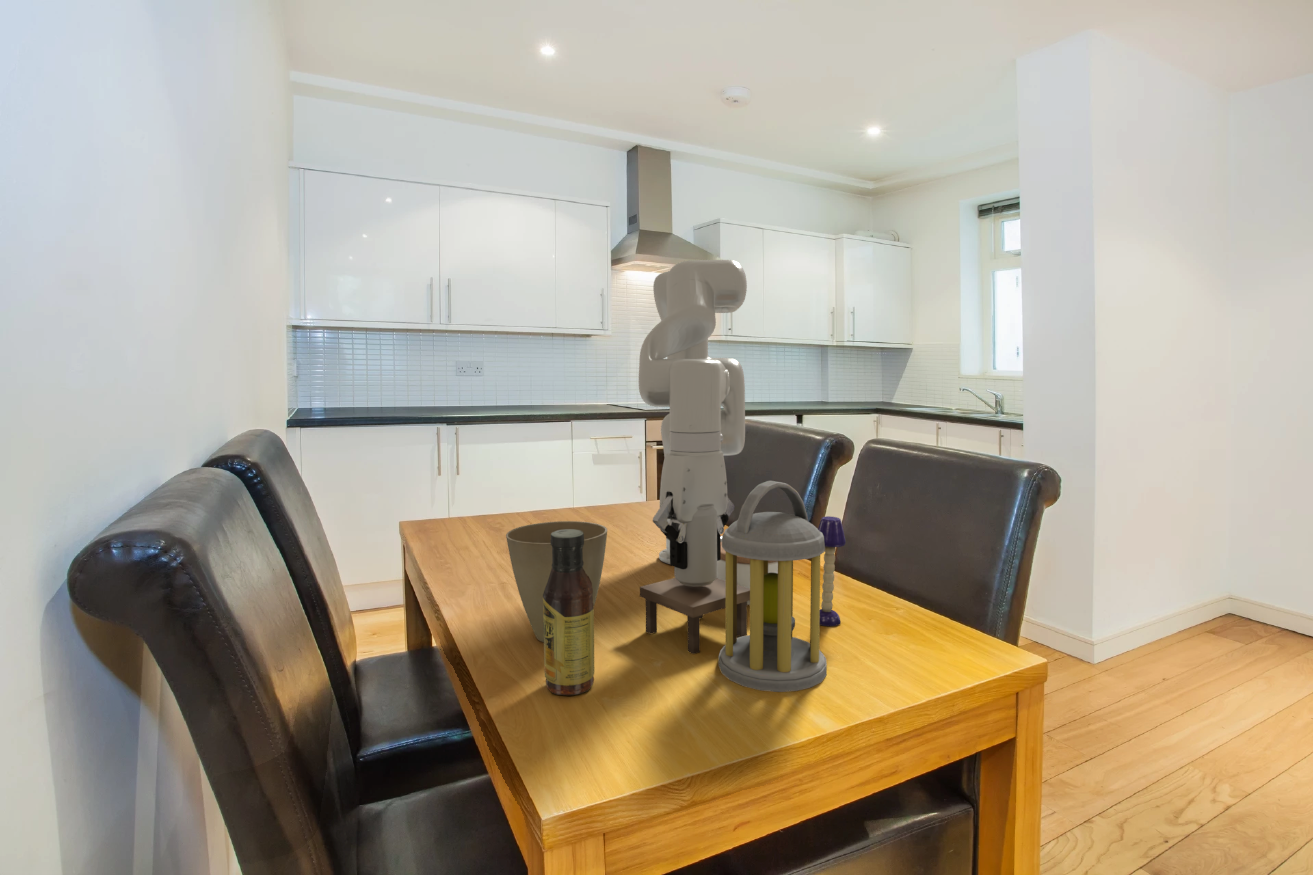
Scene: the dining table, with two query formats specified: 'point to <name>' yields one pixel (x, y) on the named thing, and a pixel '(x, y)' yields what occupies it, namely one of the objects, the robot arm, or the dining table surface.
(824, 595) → the toy lamp
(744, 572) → the lidded bowl
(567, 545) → the sauce bottle
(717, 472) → the robot arm
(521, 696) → the dining table surface
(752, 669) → the lantern
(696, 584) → the beverage can
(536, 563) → the plant pot
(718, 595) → the small brown table
